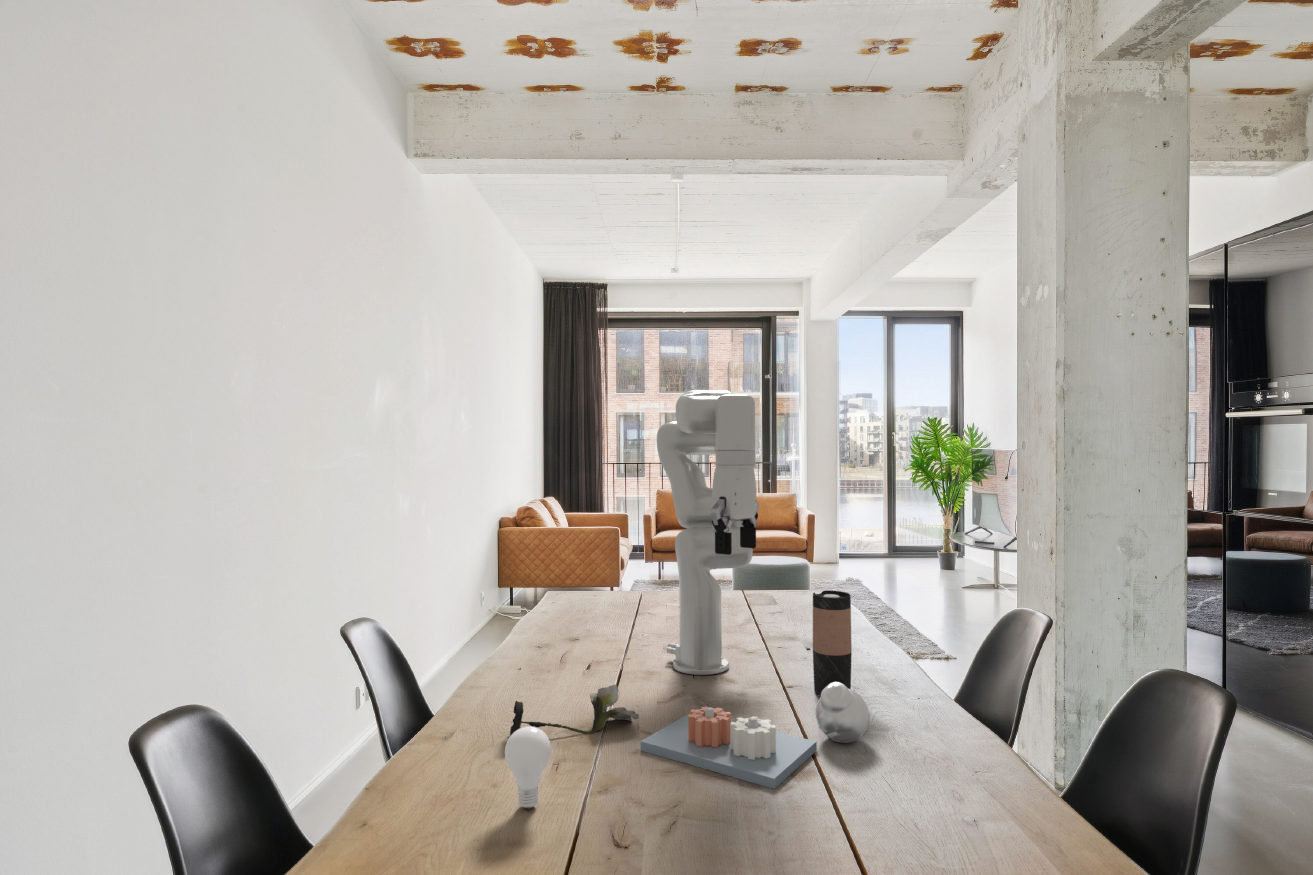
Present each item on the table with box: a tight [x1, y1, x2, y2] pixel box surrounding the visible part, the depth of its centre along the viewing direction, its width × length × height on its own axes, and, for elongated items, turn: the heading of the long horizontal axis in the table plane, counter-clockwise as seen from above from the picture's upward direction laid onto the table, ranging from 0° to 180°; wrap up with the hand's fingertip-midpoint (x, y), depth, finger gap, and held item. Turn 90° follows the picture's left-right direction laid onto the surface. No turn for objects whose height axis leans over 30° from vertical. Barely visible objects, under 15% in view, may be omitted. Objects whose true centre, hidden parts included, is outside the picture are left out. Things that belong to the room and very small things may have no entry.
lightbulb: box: [504, 725, 552, 810], centre depth 101 cm, size 6×6×11 cm
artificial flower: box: [509, 684, 640, 737], centre depth 128 cm, size 9×22×10 cm, turn 104°
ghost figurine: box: [815, 682, 870, 744], centre depth 123 cm, size 9×10×10 cm
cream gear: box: [730, 716, 777, 760], centre depth 115 cm, size 7×7×4 cm
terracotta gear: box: [688, 706, 732, 748], centre depth 120 cm, size 7×7×4 cm
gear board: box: [640, 707, 818, 790], centre depth 119 cm, size 24×16×6 cm, turn 55°
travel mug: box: [812, 589, 853, 697], centre depth 147 cm, size 8×8×20 cm
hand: (736, 550), depth 137 cm, fingers open, 9 cm apart
